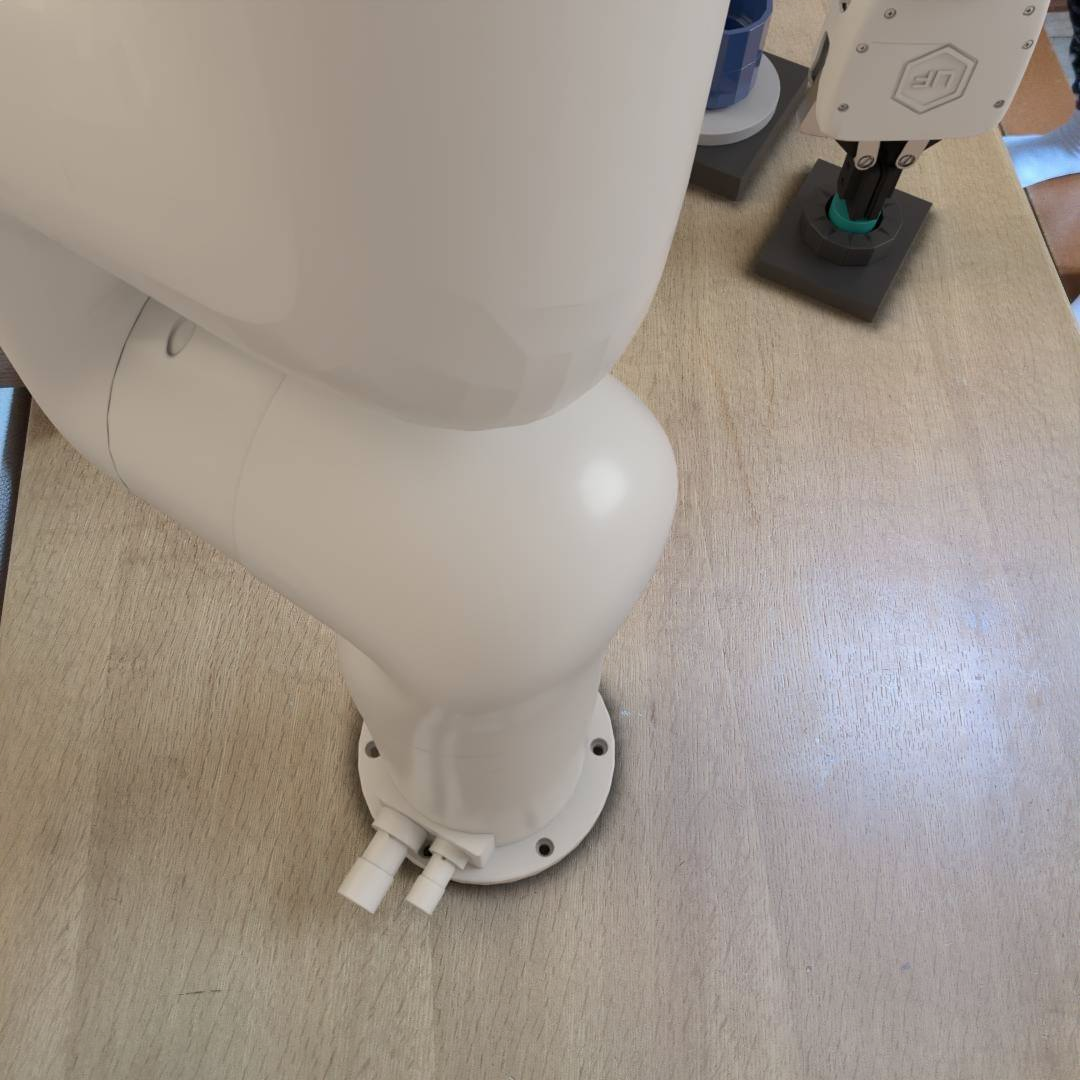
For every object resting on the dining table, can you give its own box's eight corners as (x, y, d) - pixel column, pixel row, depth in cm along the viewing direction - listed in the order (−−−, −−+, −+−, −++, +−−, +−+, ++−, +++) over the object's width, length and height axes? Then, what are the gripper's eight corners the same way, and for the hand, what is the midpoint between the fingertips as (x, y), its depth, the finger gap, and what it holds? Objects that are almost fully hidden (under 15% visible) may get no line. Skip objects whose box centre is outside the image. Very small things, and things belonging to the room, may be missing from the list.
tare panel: (871, 324, 64) (886, 292, 61) (753, 273, 66) (763, 240, 63) (925, 218, 68) (942, 184, 65) (813, 173, 70) (824, 138, 67)
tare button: (862, 250, 64) (871, 230, 63) (817, 232, 65) (825, 211, 63) (879, 218, 65) (888, 198, 64) (835, 201, 66) (843, 180, 64)
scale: (735, 202, 68) (744, 167, 66) (588, 142, 71) (591, 106, 68) (805, 92, 73) (815, 56, 70) (665, 39, 75) (671, 2, 73)
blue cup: (729, 127, 67) (747, 47, 62) (641, 92, 68) (652, 11, 63) (768, 69, 70) (789, -14, 64) (683, 36, 71) (696, -47, 66)
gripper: (827, -36, 45) (746, 253, 62) (1160, -43, 46) (992, 246, 62) (800, -140, 49) (730, 161, 65) (1110, -144, 49) (963, 155, 66)
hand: (858, 202), depth 64 cm, fingers closed
